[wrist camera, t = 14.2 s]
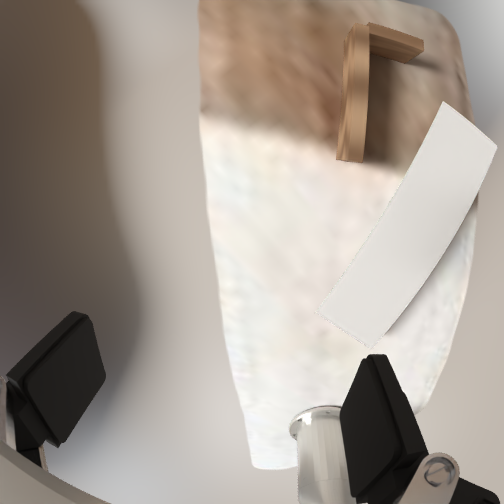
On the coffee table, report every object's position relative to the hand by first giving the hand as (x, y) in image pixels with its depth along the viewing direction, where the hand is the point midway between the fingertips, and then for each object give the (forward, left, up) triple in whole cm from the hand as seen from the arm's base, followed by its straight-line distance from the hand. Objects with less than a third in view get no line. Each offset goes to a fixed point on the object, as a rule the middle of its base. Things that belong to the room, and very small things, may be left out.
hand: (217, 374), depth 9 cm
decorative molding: (+1, -20, -29) cm, 35 cm away
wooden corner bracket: (+16, -13, -28) cm, 35 cm away
